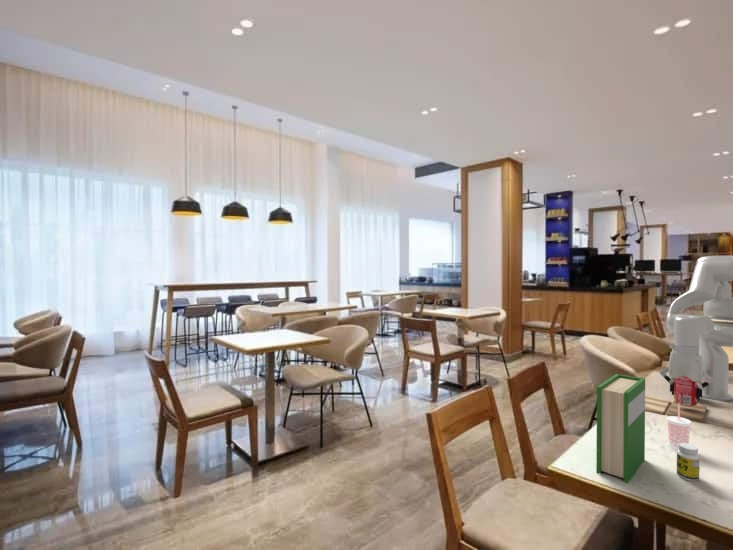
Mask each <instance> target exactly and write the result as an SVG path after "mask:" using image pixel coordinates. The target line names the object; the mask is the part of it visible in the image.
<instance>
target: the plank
mask: <svg viewBox="0 0 733 550" xmlns="http://www.w3.org/2000/svg"><path fill="white" fill-rule="evenodd" d="M707 408H708V407H707V405H703V404H697V405H694V406H692V407H688V406H682V405H680V417H682V418H685V419H688V420H690V421H691V422H697V423H701V424H703V423H704V419H705V415H706V412H707ZM667 416H677V417H678V404H677V403H676V402H675V401H674V400H673V402H672V404H671V405H670V407H669V409H668V411H667V412H666V417H667Z"/></svg>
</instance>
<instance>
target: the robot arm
mask: <svg viewBox="0 0 733 550" xmlns="http://www.w3.org/2000/svg"><path fill="white" fill-rule="evenodd" d="M729 282H733V255H705V256H701V257H699V258H698V259H697V260H696V265H695V266H694V270H693V273H692V276H691V281H690V285H689V289H688V291H686V292H685V293H682V294H681V295H680V296H678V297H677V298H676V299H675V300H674V301H673V302H672V303H671V304H670V305H669V308H668V312H667V315H666V321H665V324H666V328H667V330H669V331H671V332H673V344H668V348H669V349H671V352H670V355H669V360H668V361H669V362H668V367H665V368H664V369H662V370H660V371H659V374H660V375H661V376H662V377H663V378H664V380H665V381H667V382H668V384H669V392H671V396H674V379H678V378H679V377H681V376H686V377H688V378H690V379H691V380H692V381H693V382H696V384H697V386H698V388H697V399H701V398H704V399H707V400H711V401H720V402H730V401H733V395H732V394H731V393H729V360H730V359H729V354H728V353H727V351H725V349H724V348H723V347H727V348H733V324H732V323H725V322H716V321H728V322H733V297H732V285H731V284H730V283H729ZM702 303H703V315H702V314H691V313H681V312H682V311H683V310H684V309H687V308H688V307H691V306H695V305H698V304H699V305H700V304H702ZM713 320H716V321H715V322H714V321H713ZM667 373H668V375H667ZM683 374H685V375H683Z"/></svg>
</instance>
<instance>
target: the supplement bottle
mask: <svg viewBox="0 0 733 550" xmlns="http://www.w3.org/2000/svg"><path fill="white" fill-rule="evenodd" d="M700 461H701V460H700V456H699V448H698V447H697V446H696V445H693V444H690V443H689V444H687V443H680V444H679V450H678V451H677V452H676V475H677V476H679V477H680V478H681V479H684V480H686V481H691V482H696V481H699V480H700V464H701V463H700Z"/></svg>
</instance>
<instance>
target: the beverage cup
mask: <svg viewBox="0 0 733 550" xmlns="http://www.w3.org/2000/svg"><path fill="white" fill-rule="evenodd" d="M666 422H667V434H668V447H669V448H670V449H671V450H673V451H678V450H679V444H680V443H687V444H690V443H689V442H690V432H691V426H692V422H693V421H691V420H688V419H685V418H682V417H680V404H679V403H678V417H677V416H667V415H666Z"/></svg>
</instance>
